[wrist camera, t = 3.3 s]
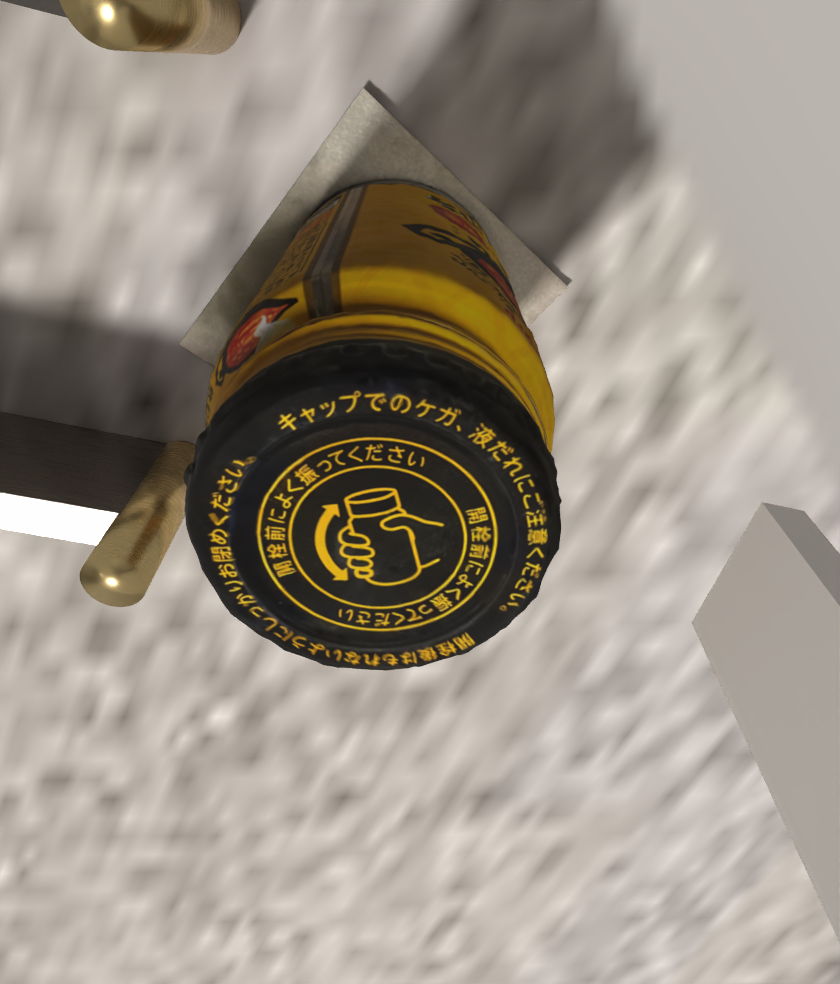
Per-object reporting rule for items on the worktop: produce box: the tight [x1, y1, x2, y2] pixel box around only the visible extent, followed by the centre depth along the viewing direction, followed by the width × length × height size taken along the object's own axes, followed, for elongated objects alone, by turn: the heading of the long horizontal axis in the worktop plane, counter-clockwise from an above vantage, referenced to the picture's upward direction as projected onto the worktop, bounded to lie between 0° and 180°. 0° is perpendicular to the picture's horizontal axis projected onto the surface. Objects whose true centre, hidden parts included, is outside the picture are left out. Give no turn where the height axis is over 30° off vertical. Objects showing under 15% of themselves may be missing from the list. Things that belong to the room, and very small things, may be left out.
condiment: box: [180, 88, 569, 670], centre depth 15 cm, size 7×8×12 cm
